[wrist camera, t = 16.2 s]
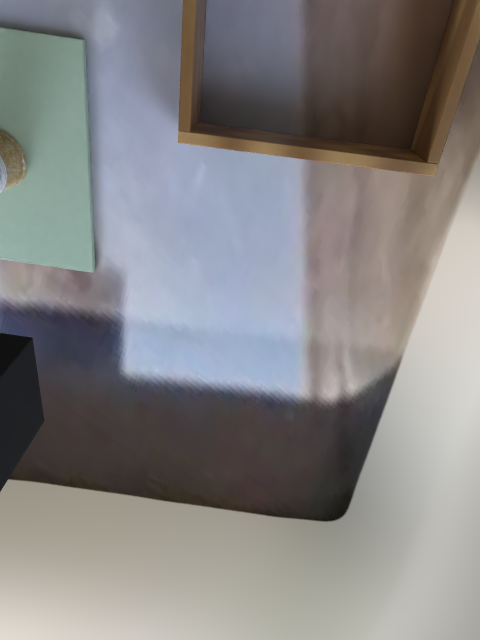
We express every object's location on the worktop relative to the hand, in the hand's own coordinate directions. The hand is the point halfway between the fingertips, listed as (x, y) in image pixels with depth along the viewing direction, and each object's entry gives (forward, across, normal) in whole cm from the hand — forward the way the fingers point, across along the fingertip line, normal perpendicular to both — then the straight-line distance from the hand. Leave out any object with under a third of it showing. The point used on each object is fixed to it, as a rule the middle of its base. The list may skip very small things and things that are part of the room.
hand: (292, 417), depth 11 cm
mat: (+28, -22, -3) cm, 36 cm away
